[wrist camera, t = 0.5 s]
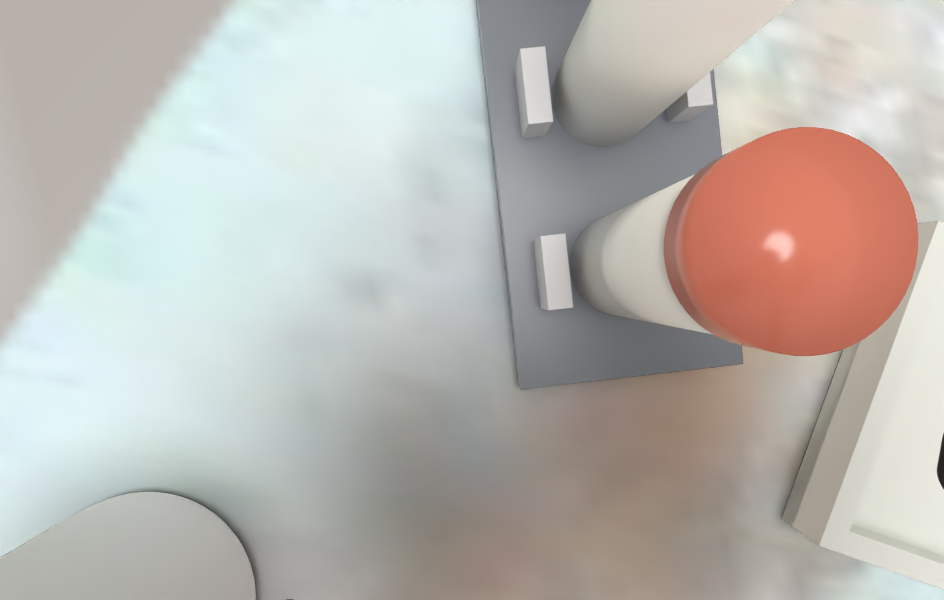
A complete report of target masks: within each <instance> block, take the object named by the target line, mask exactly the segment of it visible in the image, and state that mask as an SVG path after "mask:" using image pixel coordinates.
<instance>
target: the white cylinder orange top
mask: <svg viewBox="0 0 944 600" xmlns="http://www.w3.org/2000/svg"><path fill="white" fill-rule="evenodd" d="M918 237H919V236H918V226H917V219H916V215H915V211H914V207H913V204H912V201H911V199H910V196H909V193H908V191H907V189H906V188H905V186H904V184H903V182H902V180H901V179H900V177H899V176H898V174H897V173H896V172H895V170H894V169H893V168H892V166H891V165H890V164H889V163H888V162H887V161H886V160H885V159H884V158H883V157H882V156H881V155H880V154H878V153H877V152H876V151H875V150H874V149H872V148H871V147H869V146H868V145H866V144H864V143H863V142H861V141H860V140H858V139H855V138H853V137H851V136H849V135H847V134H844V133H840V132H837V131H834V130H829V129H823V128H816V127H799V128H790V129H785V130H781V131H777V132H773V133H770V134H768V135H765V136H762V137H760V138H758V139H756V140H754V141H752V142H749V143H747V144H745V145H743V146H741V147H739V148H737V149H735V150H733V151H731V152H729V153H727V154H725V155H723V156H721V157H719V158H717V159H715V160H714V161H712V162H710V163H709V164H707V165H706V166H705V167H703V168H702V169H701V170H699V171H698V172H697V173H696V174H695V175H692V176H690V177H688V178H686V179H684V180H682V181H680V182H677V183H675V184H673V185H671V186H669V187H667V188H665V189H662V190H660V191H658V192H656V193H654V194H652V195H650V196H647V197H645V198H643V199H641V200H639V201H637V202H634V203H632V204H630V205H628V206H626V207H624V208H622V209H619V210H617V211H615V212H613V213H611V214H609V215H607V216H604V217H602V218H600V219H598V220H596V221H595V222H593V223H592V224H590V225H589V226H588V227H587V228H586V229H585V230H584V231H583V232H582V233H581V234H580V236H579V237H578V239H577V241H576V243H575V245H574V247H573V250H572V254H571V260H570V269H571V276H572V280H573V283H574V285H575V288H576V289H577V291H578V293H579V294H580V296H581V297H582V298H583V299H584V300H585V301H586V302H587V303H588V304H589V305H590V306H592V307H593V308H595V309H597V310H598V311H601V312H603V313H606V314H610V315H615V316H620V317H625V318H630V319H636V320H641V321H646V322H651V323H656V324H662V325H667V326H672V327H677V328H682V329H687V330H693V331H698V332H703V333H708V334H713V335H715V336H717V337H719V338H721V339H724V340H726V341H728V342H732V343H735V344H739V345H743V346H747V347H752V348H757V349H761V350H766V351H771V352H776V353H780V354H787V355H794V356H815V355H823V354H828V353H832V352H836V351H840V350H842V349H844V348H847V347H849V346H852V345H854V344H856V343H858V342H859V341H861V340H863V339H865V338H866V337H868V336H869V335H870V334H872V333H873V332H874V331H876V330H877V329H878V328H879V327H880V326H881V325H882V324H883V323H884V322H885V321H886V320H888V319H889V317H890V316H891V315H892V314H893V312H894V311H895V310H896V308H897V307H898V306H899V304H900V302H901V301H902V299H903V297H904V296H905V294H906V292H907V289H908V287H909V285H910V283H911V280H912V277H913V274H914V270H915V267H916V261H917V255H918Z"/></svg>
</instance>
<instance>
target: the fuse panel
mask: <svg viewBox="0 0 944 600" xmlns="http://www.w3.org/2000/svg"><path fill="white" fill-rule="evenodd" d="M793 1H795V0H476V5H477V14H478V23H479V33H480V42H481V51H482V60H483V69H484V78H485V87H486V96H487V105H488V114H489V123H490V132H491V141H492V150H493V159H494V168H495V177H496V186H497V195H498V205H499V214H500V223H501V232H502V241H503V250H504V259H505V268H506V277H507V286H508V295H509V304H510V313H511V322H512V331H513V340H514V349H515V358H516V367H517V376H518V385H519V387H520V388H521V390H522V389H531V388H539V387H548V386H557V385H565V384H574V383H582V382H591V381H600V380H608V379H617V378H626V377H634V376H643V375H652V374H660V373H669V372H678V371H686V370H695V369H703V368H712V367H721V366H729V365H738V364H743V356H742V346H741V345H739V344H735V343H732V342H728V341H726V340H724V339H721V338H719V337H717V336H715V335H713V334H708V333H703V332H698V331H693V330H687V329H682V328H677V327H672V326H667V325H662V324H656V323H651V322H646V321H641V320H636V319H630V318H625V317H620V316H615V315H610V314H606V313H603V312H601V311H598V310H597V309H595V308H593V307H592V306H590V305H589V304H588V303H587V302H586V301H585V300H584V299H583V298H582V297H581V296H580V294H579V293H578V291H577V289H576V288H575V285H574V283H573V280H572V276H571V269H570V260H571V254H572V250H573V247H574V245H575V243H576V241H577V239H578V237H579V236H580V234H581V233H582V232H583V231H584V230H585V229H586V228H587V227H588V226H589V225H590V224H592V223H593V222H595V221H596V220H598V219H600V218H602V217H604V216H607V215H609V214H611V213H613V212H615V211H617V210H619V209H622V208H624V207H626V206H628V205H630V204H632V203H634V202H637V201H639V200H641V199H643V198H645V197H647V196H650V195H652V194H654V193H656V192H658V191H660V190H662V189H665V188H667V187H669V186H671V185H673V184H675V183H677V182H680V181H682V180H684V179H686V178H688V177H690V176H692V175H695V174H696V173H697V172H698V171H699V170H701V169H702V168H703V167H705V166H706V165H707V164H709V163H710V162H712V161H714V160H715V159H717V158H719V157H721V156H722V149H721V139H720V129H719V119H718V109H717V99H716V89H715V79H714V68H715V67H716V66H717V65H719V64H720V63H721V62H722V61H723V60H725V59H726V58H727V57H728V56H729V55H731V54H732V53H733V52H734V51H735V50H736V49H738V48H739V47H740V46H741V45H742V44H744V43H745V42H746V41H747V40H748V39H750V38H751V37H752V36H753V35H754V34H755V33H757V32H758V31H759V30H760V29H761V28H763V27H764V26H765V25H766V24H767V23H769V22H770V21H771V20H772V19H773V18H774V17H776V16H777V15H778V14H779V13H780V12H782V11H783V10H784V9H785V8H786V7H788V6H789V5H790V4H791V3H792V2H793Z"/></svg>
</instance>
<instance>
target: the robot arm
mask: <svg viewBox="0 0 944 600" xmlns="http://www.w3.org/2000/svg"><path fill="white" fill-rule="evenodd" d="M937 477H938V480H939V482H940V484H941V486H942V488H943V489H944V433H943V436H942V442H941V447H940V453H939V458H938V464H937ZM287 600H293V599H287Z"/></svg>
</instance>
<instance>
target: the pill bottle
mask: <svg viewBox="0 0 944 600" xmlns="http://www.w3.org/2000/svg"><path fill="white" fill-rule="evenodd" d="M0 600H256V592H255V582H254V576H253V571H252V568H251V564H250V562H249V559H248V556H247V554H246V552H245V550H244V548H243V546H242V544H241V543H240V541H239V539H238V538H237V536H236V535H235V534H234V532H233V531H232V530H231V529H230V528H229V527H228V525H227V524H226V523H225V522H224V521H223V520H221V519H220V518H219V517H218V516H217V515H216V514H214V513H213V512H211V511H210V510H209V509H207V508H205V507H204V506H202V505H200V504H198V503H196V502H194V501H192V500H189V499H187V498H184V497H181V496H177V495H173V494H168V493H161V492H136V493H129V494H124V495H119V496H116V497H112V498H109V499H107V500H104V501H102V502H99V503H96V504H94V505H91V506H89V507H87V508H85V509H83V510H82V511H80V512H78V513H76V514H75V515H73V516H71V517H69V518H68V519H66V520H64V521H62V522H61V523H59V524H57V525H55V526H54V527H52V528H50V529H49V530H47V531H45V532H43V533H42V534H40V535H38V536H36V537H35V538H33V539H31V540H29V541H28V542H26V543H24V544H23V545H21V546H19V547H17V548H16V549H14V550H12V551H10V552H9V553H7V554H5V555H3V556H2V557H0Z"/></svg>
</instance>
